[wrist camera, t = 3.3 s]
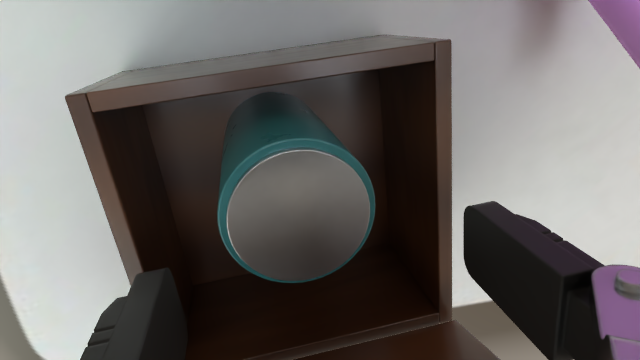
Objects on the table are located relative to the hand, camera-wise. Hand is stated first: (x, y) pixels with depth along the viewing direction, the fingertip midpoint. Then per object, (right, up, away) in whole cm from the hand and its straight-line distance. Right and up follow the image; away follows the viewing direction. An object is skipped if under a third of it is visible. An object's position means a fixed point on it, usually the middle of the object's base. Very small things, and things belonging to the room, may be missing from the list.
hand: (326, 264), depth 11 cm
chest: (-3, +3, +13) cm, 14 cm away
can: (-3, +4, +12) cm, 13 cm away
